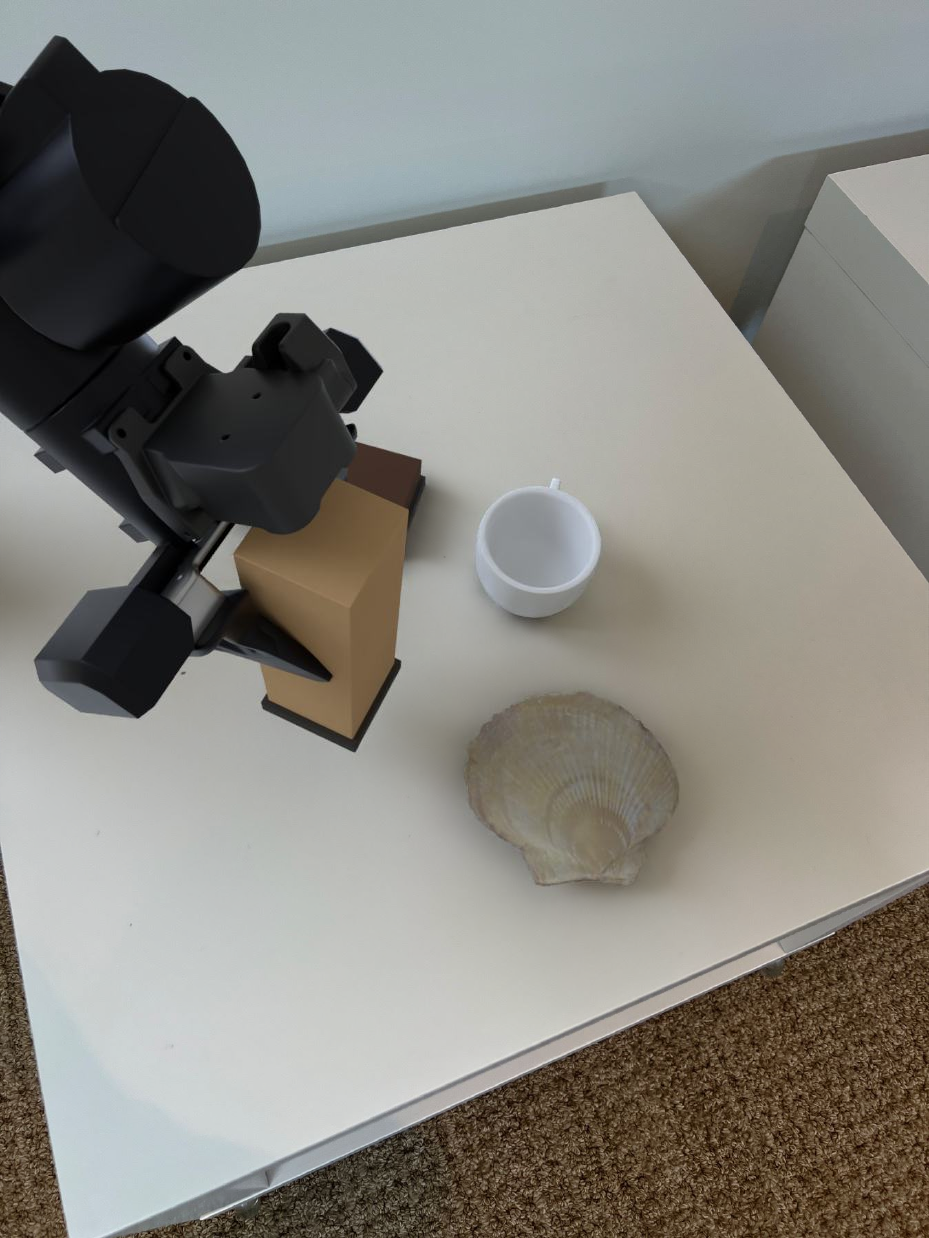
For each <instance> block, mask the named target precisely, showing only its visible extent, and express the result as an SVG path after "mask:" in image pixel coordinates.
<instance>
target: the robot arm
mask: <svg viewBox="0 0 929 1238" xmlns="http://www.w3.org/2000/svg"><path fill="white" fill-rule="evenodd" d="M261 231H262V214H261V204H260V200H259V196H258V191H257V188H256V184H255V181H254V178H253V175H252V174H251V171H250V169H249V166H248V165H247V161H246V160H245V158H244V156H243V155H242V153H241V151H240V149H239V148H238V146H237V145H236V143H235V141H234V139H233V138H232V136H231V135H230V133H229V132H228V131H227V130H226V128H225V127H224V126H223V125H222V123H221V121H220V120H219V119H218V118H217V117H216V116H215V114H214V113H213V112H212V111H211V110H210V109H208V107H207V106H206V105H205V104H204V103H203V102H202V101H201V100H199V99H198V98H197V97H195V96H189V97H187V96H186V95H184V94H183V93H182V92H180V91H179V90H177V89H176V88H175V87H173V86H172V85H170V84H169V83H167V82H165V81H162V80H161V79H159V78H156V77H154V76H153V75H150V74H149V73H145V72H142V71H137V70H132V69H129V68H119V69H118V68H117V69H104V70H102V71H100V70H99V69H98V68H97V67H96V66H95V65H94V64H93V63H92V62H91V61H90V60H89V59H88V58H87V57H86V56H85V55H84V54H83V53H82V52H81V51H80V50H79V49H78V48H77V47H76V46H75V45H74V44H73V43H72V41H70V40H69V39H68V38H67V37H65V36H61V35H57V34H55V35H53V36H52V38H51V39H50V40H49V41H48V42H47V44H46V45H45V46H44V47H43V48H42V50H41V51H40V52H39V54H38V55H37V56H36V57H35V59H34V60H33V61H32V63H31V64H30V65H29V66H28V68H26V70H25V71H24V73H23V74H22V75H21V77H19V79H18V81H17V82H16V83H15V84H14V85H12V84H9V83H7V82H4V81H1V80H0V414H1V415H3V416H4V417H5V418H6V419H8V421H10V422H11V423H12V424H13V425H14V426H16V427H17V428H18V429H19V430H20V431H22V432H23V433H24V435H26V436H27V437H28V438H29V439H31V440H32V441H33V442H34V443H35V444H36V445H38V446H39V448H38V450H37V451H36V452H34V454H33V457H35V458H36V459H37V460H38V461H39V462H41V464H43V465H44V466H45V467H46V468H47V469H48V470H50V471H51V472H52V473H54V474H58V473H61V472H63V471H66V470H67V471H68V472H69V473H70V474H71V475H73V476H74V477H75V478H76V479H77V480H79V481H80V483H82V484H83V485H85V486H86V487H87V488H88V489H89V490H90V491H91V492H93V493H94V494H95V495H96V496H97V497H98V498H99V499H101V500H102V501H103V502H104V503H106V505H108V506H109V507H110V508H111V509H112V510H113V511H115V512H116V513H117V514H118V515H120V517H122V518H123V520H122V522H120V523H119V525H118V528H119V529H120V530H121V531H122V532H123V533H125V534H126V535H127V536H128V537H129V538H130V539H132V540H133V541H134V542H135V543H137V544H139V543H144V542H151V543H152V544H153V545H155V546H156V547H155V548H154V550H153V551H152V552H151V554H150V555H149V556H148V558H147V559H146V560H145V562H144V563H143V564H142V565H141V567H140V568H139V570H138V571H137V572H136V573H135V575H134V576H133V577H132V578H131V580H130V581H129V583H128V584H127V585H121V586H113V587H104V588H98V589H97V588H95V589H89V590H87V591H86V592H85V593H84V595H83V596H82V597H81V599H80V600H79V601H78V602H77V603H76V605H75V607H74V608H73V609H72V610H71V611H70V613H69V614H68V615H67V616H66V618H65V619H64V620H63V622H62V623H61V624H60V625H59V627H58V628H57V629H56V630H55V632H54V633H53V635H52V636H51V637H50V638H49V640H48V641H47V642H46V643H45V645H44V646H43V647H42V648H41V650H39V652H38V654H37V655H36V656H35V657H34V659H33V662H34V667H35V671H36V675H37V679H38V682H39V683H40V684H41V685H42V686H43V687H44V689H45V690H47V691H48V692H50V693H51V694H53V696H56V697H57V698H59V699H60V700H61V701H63V702H64V703H66V704H68V705H69V706H70V707H72V708H73V709H75V710H77V712H79V713H85V714H92V715H99V716H109V717H117V718H118V717H119V718H125V719H133V720H139V719H140V718H142V717H143V716H144V715H146V714H147V713H148V712H149V711H151V710H152V709H153V708H155V706H156V705H157V704H158V702H159V701H160V699H161V698H162V696H163V695H164V693H165V692H166V691H167V689H168V687H170V685H171V684H172V682H173V680H174V679H175V677H176V676H177V675H178V673H179V672H180V671H181V669H182V667H183V666H184V664H185V663H186V661H187V660H188V658H203V657H205V656H208V655H209V654H211V653H213V651H217V652H221V653H226V654H230V655H234V656H236V657H240V658H243V659H245V660H249V661H252V662H255V663H257V664H260V663H261V664H264V665H267V666H270V667H273V668H277V669H280V670H283V671H286V672H289V673H292V674H295V675H298V676H301V677H304V678H307V679H310V680H313V681H317V682H330V681H331V679H332V677H333V675H332V674H331V673H330V672H329V671H328V670H327V669H326V668H325V667H324V665H323V664H322V663H321V662H320V661H319V660H318V659H317V658H316V657H315V656H314V655H313V654H312V653H311V652H310V651H309V650H307V649H306V648H305V647H304V646H302V645H301V644H300V643H298V642H297V641H296V640H294V639H293V638H292V637H290V636H289V635H288V634H286V633H285V632H284V631H283V630H281V629H280V628H279V627H277V626H276V625H275V624H273V623H272V622H271V621H269V620H268V619H267V618H265V617H264V616H263V615H262V614H260V613H259V612H258V611H257V609H256V607H255V605H254V602H253V600H252V598H251V595H250V593H249V591H248V590H247V589H246V588H245V589H241V588H236V589H235V588H234V589H226V590H220V589H219V588H218V587H217V586H216V585H214V584H213V583H212V582H211V581H210V580H208V579H207V578H206V577H205V576H204V575H203V574H201V573H202V572H203V570H204V569H205V568H206V566H207V565H208V563H209V562H210V560H211V559H212V558H213V556H214V555H215V554H216V552H217V550H218V549H219V548H220V547H221V545H222V544H223V542H224V541H225V540H226V538H227V536H228V535H229V534H230V532H231V531H232V530H233V528H234V527H235V525H241V526H246V527H258V528H262V529H264V530H266V531H267V532H269V533H273V534H279V535H285V534H291V533H294V532H297V531H299V530H301V529H303V528H304V527H305V526H307V525H308V524H309V523H310V522H311V521H312V520H313V519H314V517H315V516H316V514H317V513H318V511H319V510H320V504H321V499H322V498H323V496H324V495H325V493H326V492H327V490H328V489H329V487H330V486H331V484H332V483H333V481H334V480H335V478H338V479H340V480H343V481H345V482H347V483H348V480H347V471H348V466H349V464H350V463H351V461H352V460H353V458H354V456H355V454H356V450H357V449H356V444H355V441H357V439H358V428H357V425H356V424H355V422H352V423H347V424H346V423H345V421H344V419H343V418H342V416H341V414H343V415H344V414H346V415H348V414H352V413H355V412H357V411H358V409H359V408H360V407H361V405H362V404H363V402H364V401H365V400H366V399H367V396H368V395H369V393H370V392H371V391H372V389H373V388H374V386H375V385H376V383H377V382H378V380H380V377H381V376H382V375H383V373H384V368H383V366H382V365H381V363H379V361H378V360H377V359H376V357H375V356H374V355H373V354H372V353H371V351H370V350H369V349H368V348H367V346H366V345H365V344H364V343H363V341H362V340H361V339H360V338H359V337H358V336H355V335H353V334H350V333H348V332H346V331H344V330H340V329H338V328H334V327H328V328H326V329H323V330H322V329H321V328H320V327H319V326H318V325H317V324H316V323H315V322H314V321H313V319H312V318H310V317H309V316H308V315H307V314H306V313H305V312H278V313H276V314H275V315H274V316H273V318H272V319H271V320H270V321H269V323H268V324H267V325H266V326H265V328H264V329H263V330H262V331H261V332H260V333H259V335H258V336H257V338H256V339H255V340H254V341H253V342H252V344H251V355H249V354H248V355H247V354H246V355H244V356H243V357H242V358H241V360H240V361H239V362H238V364H237V365H236V366H235V368H233V370H231V371H228V372H223V371H221V370H219V369H218V368H216V367H215V366H213V365H211V364H210V363H208V362H206V361H205V360H204V359H203V358H202V357H201V355H199V354H198V352H197V351H195V349H194V348H193V347H191V346H190V345H187V344H183V342H182V341H181V340H180V339H178V337H177V336H176V335H174V336H172V337H170V338H168V339H167V340H165V341H163V342H161V343H159V344H158V343H157V342H156V341H155V340H154V339H153V338H152V337H151V336H150V335H149V334H148V332H150V331H151V330H153V329H155V328H156V327H157V326H159V325H160V324H162V323H163V322H165V321H166V320H168V319H170V318H171V317H172V316H174V315H176V313H178V312H180V311H181V310H183V309H184V308H186V307H188V305H190V304H192V303H193V302H195V301H197V300H198V299H199V298H201V297H202V296H205V294H206V293H208V292H209V291H212V290H213V289H214V288H215V287H218V286H219V285H220V284H222V283H223V282H225V281H226V280H227V279H229V278H231V277H232V276H233V275H235V274H237V273H238V272H240V271H241V270H242V269H243V268H244V267H245V266H246V265H247V264H248V263H249V262H250V261H251V260H252V259H253V257H254V256H255V254H256V252H257V250H258V247H259V243H260V237H261V233H262V232H261Z"/></svg>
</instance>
